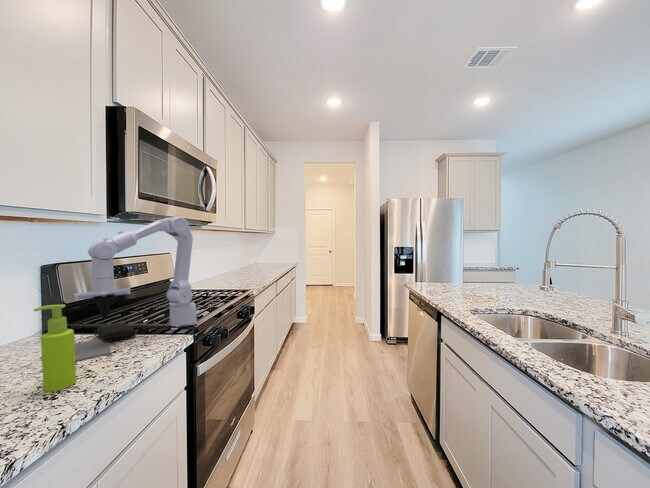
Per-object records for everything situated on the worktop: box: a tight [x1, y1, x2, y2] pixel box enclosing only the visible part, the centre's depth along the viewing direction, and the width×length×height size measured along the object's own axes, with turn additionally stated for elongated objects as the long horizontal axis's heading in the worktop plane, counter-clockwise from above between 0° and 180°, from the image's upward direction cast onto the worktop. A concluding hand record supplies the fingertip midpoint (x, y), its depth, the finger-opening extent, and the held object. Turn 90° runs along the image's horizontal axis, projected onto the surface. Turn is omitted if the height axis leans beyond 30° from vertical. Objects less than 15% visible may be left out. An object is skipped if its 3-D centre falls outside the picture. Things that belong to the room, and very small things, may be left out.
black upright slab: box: [93, 322, 137, 342], centre depth 103 cm, size 11×3×15 cm
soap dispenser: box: [33, 303, 77, 393], centre depth 69 cm, size 6×7×20 cm
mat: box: [74, 337, 112, 363], centre depth 90 cm, size 14×18×1 cm
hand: (104, 318), depth 94 cm, fingers closed
